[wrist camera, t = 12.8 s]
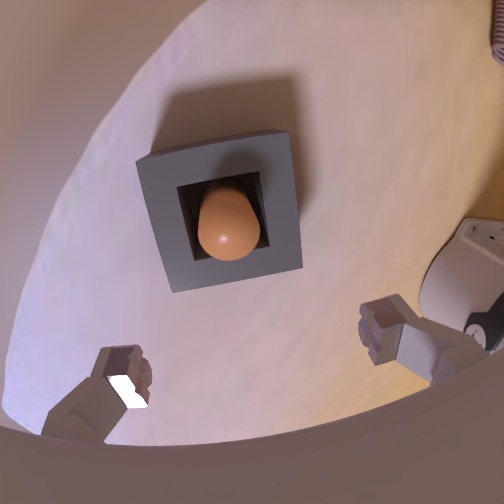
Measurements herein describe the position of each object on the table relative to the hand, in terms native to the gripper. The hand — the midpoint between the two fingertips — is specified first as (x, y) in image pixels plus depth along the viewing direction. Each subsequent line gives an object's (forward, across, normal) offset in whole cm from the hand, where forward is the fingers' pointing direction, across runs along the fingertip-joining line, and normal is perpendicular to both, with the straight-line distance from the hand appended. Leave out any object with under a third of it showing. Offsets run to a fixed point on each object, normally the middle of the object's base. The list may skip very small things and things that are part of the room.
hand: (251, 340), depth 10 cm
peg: (+18, +1, 0) cm, 18 cm away
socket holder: (+18, +1, 0) cm, 18 cm away
